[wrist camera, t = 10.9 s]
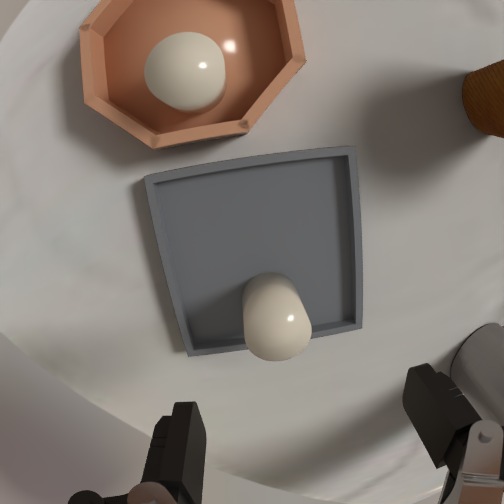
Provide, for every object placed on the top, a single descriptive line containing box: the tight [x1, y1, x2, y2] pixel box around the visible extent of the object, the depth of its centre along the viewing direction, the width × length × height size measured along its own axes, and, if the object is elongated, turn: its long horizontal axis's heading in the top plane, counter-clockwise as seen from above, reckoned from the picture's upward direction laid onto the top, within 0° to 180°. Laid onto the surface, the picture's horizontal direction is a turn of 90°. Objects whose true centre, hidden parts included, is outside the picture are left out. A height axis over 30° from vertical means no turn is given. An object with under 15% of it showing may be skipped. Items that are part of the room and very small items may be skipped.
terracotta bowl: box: [79, 0, 307, 149], centre depth 18 cm, size 15×15×4 cm
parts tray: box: [144, 146, 363, 357], centre depth 24 cm, size 15×15×2 cm
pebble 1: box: [144, 32, 227, 115], centre depth 17 cm, size 4×4×6 cm
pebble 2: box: [242, 272, 312, 361], centre depth 23 cm, size 4×4×6 cm
